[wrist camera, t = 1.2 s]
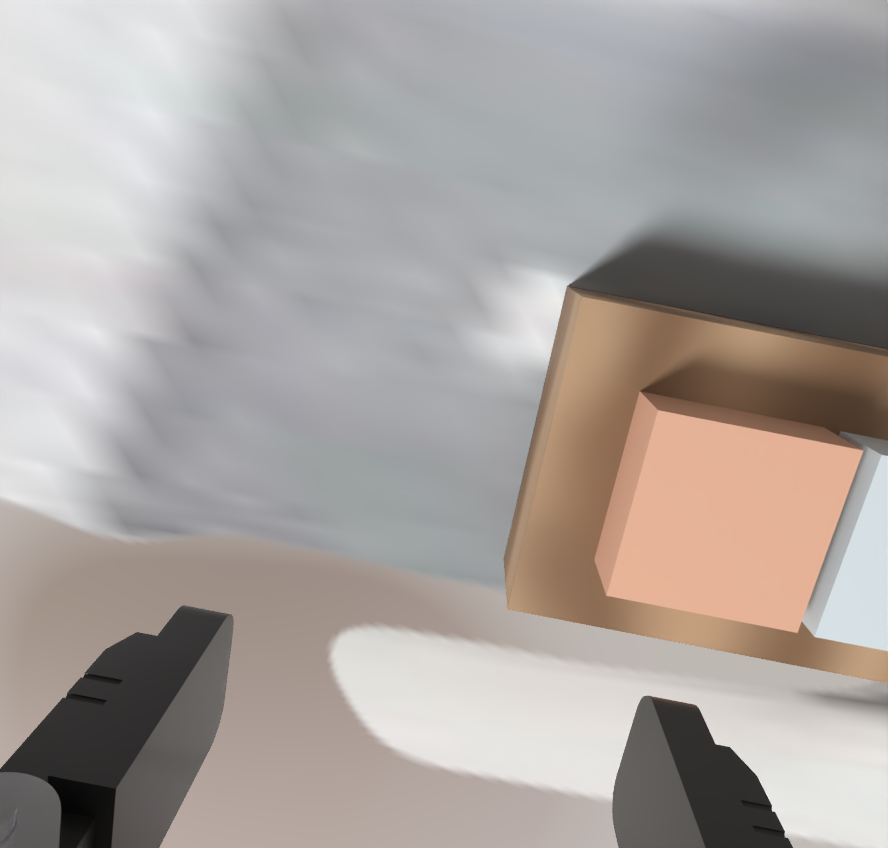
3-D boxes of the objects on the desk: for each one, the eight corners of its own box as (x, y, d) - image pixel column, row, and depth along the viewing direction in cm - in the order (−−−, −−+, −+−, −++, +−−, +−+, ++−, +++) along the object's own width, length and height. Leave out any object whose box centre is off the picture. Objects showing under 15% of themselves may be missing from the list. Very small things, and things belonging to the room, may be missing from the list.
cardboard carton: (503, 558, 29) (507, 609, 26) (567, 286, 27) (582, 296, 23) (942, 644, 30) (1011, 707, 26) (1053, 381, 27) (1150, 408, 23)
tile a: (594, 560, 25) (606, 595, 23) (639, 391, 23) (658, 410, 21) (766, 593, 25) (797, 632, 23) (823, 427, 23) (863, 450, 21)
